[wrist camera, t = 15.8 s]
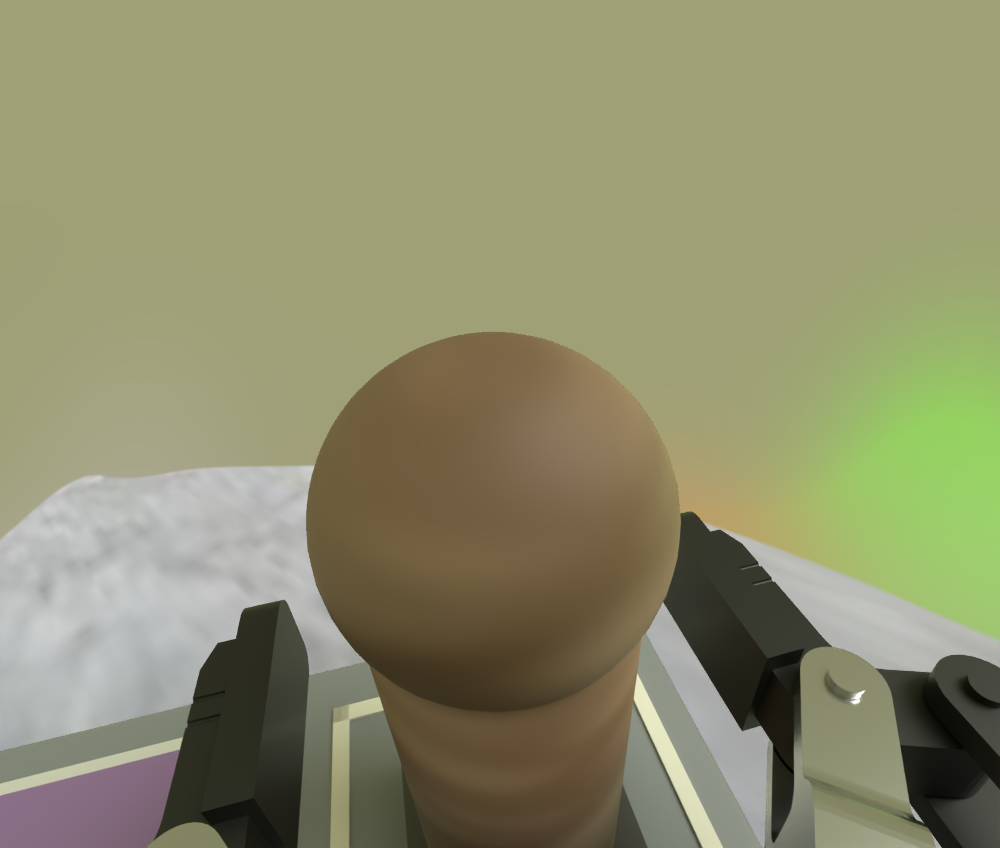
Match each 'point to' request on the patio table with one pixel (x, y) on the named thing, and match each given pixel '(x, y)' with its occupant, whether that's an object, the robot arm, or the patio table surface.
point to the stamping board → (344, 775)
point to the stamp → (499, 582)
